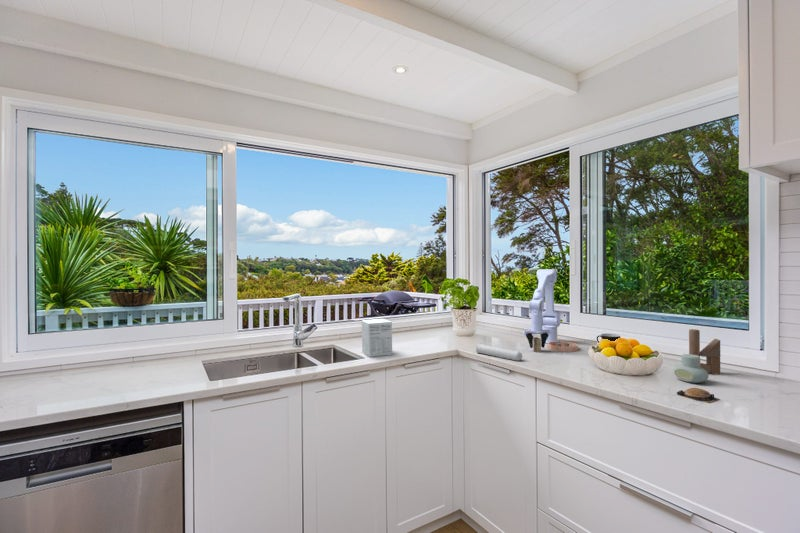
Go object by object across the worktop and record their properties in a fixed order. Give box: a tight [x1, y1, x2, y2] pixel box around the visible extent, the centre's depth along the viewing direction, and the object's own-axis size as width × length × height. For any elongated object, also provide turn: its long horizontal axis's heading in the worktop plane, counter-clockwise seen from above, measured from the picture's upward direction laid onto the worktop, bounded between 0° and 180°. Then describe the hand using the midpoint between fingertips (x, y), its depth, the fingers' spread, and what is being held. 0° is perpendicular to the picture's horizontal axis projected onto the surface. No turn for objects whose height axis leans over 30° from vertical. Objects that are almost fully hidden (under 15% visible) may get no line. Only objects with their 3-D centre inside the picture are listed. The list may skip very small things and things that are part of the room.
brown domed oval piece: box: [676, 387, 721, 404], centre depth 137 cm, size 11×8×4 cm
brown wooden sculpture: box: [688, 328, 721, 375], centre depth 165 cm, size 4×11×18 cm, turn 80°
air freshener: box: [673, 353, 709, 384], centre depth 154 cm, size 11×8×10 cm
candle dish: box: [547, 340, 579, 353], centre depth 214 cm, size 15×15×3 cm
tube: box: [475, 343, 523, 362], centre depth 198 cm, size 5×5×25 cm
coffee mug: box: [596, 333, 621, 344], centre depth 200 cm, size 12×9×10 cm
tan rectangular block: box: [532, 336, 542, 353], centre depth 209 cm, size 5×2×7 cm, turn 3°
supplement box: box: [361, 318, 393, 358], centre depth 210 cm, size 13×13×18 cm
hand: (537, 347), depth 209 cm, fingers open, 6 cm apart
